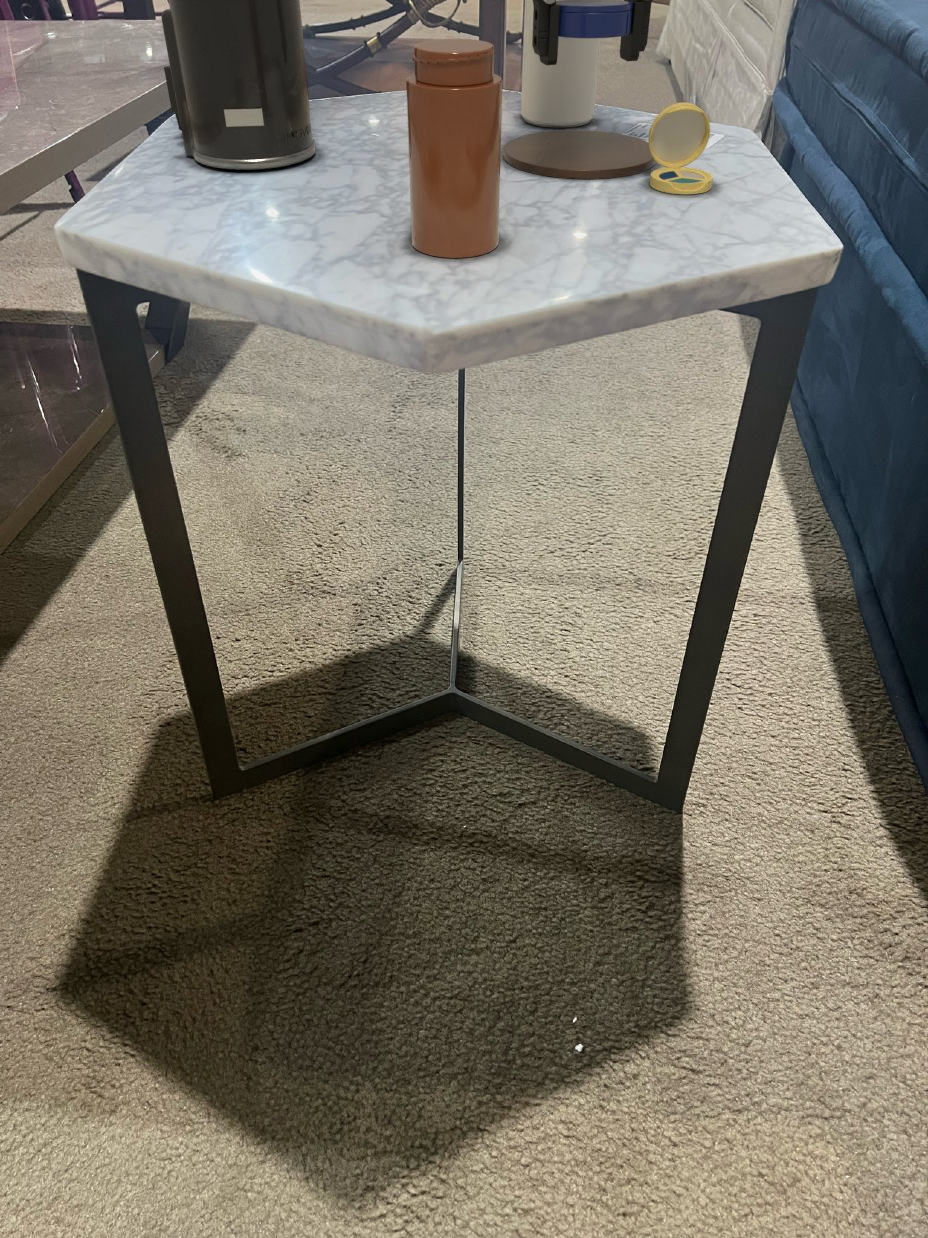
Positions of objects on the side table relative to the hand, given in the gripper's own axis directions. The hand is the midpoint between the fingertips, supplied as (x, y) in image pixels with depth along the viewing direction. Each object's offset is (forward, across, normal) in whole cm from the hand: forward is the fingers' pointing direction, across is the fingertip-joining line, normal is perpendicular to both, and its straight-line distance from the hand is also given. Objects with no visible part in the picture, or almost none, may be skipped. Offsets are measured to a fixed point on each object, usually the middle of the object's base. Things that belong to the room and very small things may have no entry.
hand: (589, 60), depth 68 cm
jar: (+7, -14, -17) cm, 23 cm away
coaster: (+7, 0, 0) cm, 7 cm away
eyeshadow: (+7, +5, -8) cm, 12 cm away
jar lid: (-3, 0, 0) cm, 3 cm away
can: (+7, +2, +12) cm, 14 cm away
